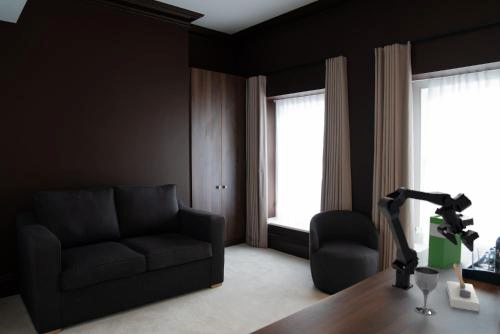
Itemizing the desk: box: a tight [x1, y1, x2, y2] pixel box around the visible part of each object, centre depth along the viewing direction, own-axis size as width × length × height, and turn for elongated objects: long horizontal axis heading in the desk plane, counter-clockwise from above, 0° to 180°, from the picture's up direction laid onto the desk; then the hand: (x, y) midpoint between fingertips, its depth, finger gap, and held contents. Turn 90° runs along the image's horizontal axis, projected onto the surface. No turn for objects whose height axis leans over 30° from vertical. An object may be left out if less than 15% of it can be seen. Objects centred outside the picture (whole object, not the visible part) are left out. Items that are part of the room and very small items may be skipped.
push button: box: [460, 290, 471, 298], centre depth 141 cm, size 4×4×1 cm
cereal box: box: [427, 214, 463, 270], centre depth 186 cm, size 18×7×24 cm, turn 126°
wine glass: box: [414, 266, 440, 316], centre depth 135 cm, size 8×8×15 cm
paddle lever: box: [453, 263, 465, 289], centre depth 150 cm, size 2×4×9 cm, turn 155°
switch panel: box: [446, 280, 480, 312], centre depth 146 cm, size 9×19×3 cm, turn 157°
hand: (464, 248), depth 164 cm, fingers open, 9 cm apart
